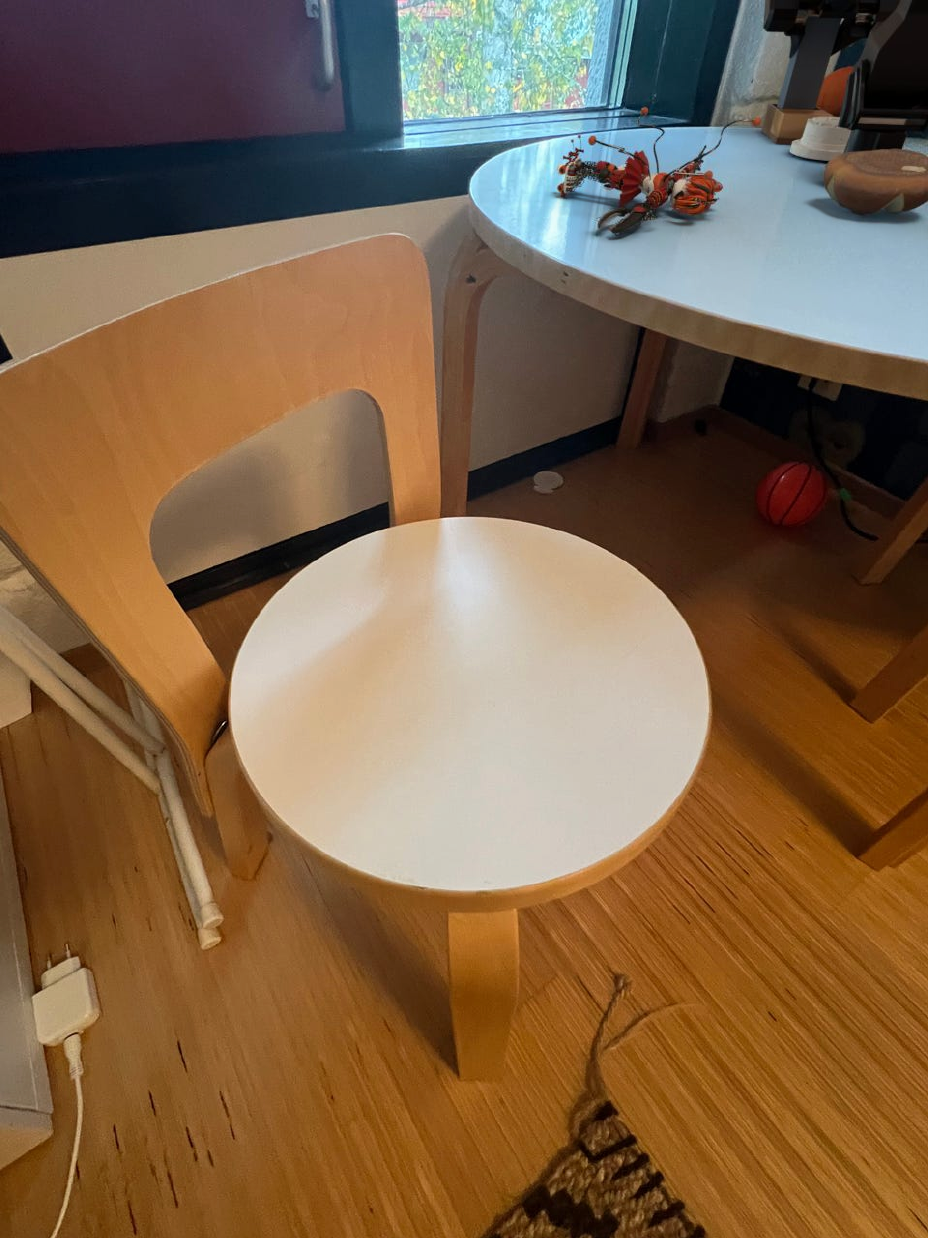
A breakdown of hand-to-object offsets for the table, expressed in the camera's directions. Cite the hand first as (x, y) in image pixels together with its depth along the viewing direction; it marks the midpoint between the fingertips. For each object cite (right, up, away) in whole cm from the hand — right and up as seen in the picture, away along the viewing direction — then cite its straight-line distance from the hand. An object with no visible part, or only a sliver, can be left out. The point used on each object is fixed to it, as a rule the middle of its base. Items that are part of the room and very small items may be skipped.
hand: (807, 55), depth 106 cm
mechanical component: (-1, -20, -6) cm, 21 cm away
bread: (-7, -37, -32) cm, 49 cm away
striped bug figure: (-43, -34, -28) cm, 61 cm away
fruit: (+11, 0, +15) cm, 19 cm away
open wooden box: (-1, -10, +4) cm, 11 cm away
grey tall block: (0, -6, +4) cm, 7 cm away
